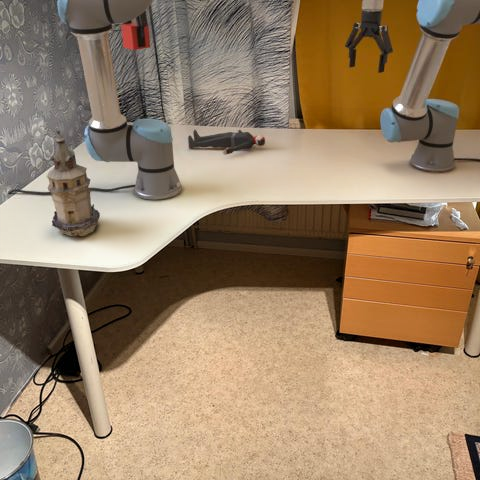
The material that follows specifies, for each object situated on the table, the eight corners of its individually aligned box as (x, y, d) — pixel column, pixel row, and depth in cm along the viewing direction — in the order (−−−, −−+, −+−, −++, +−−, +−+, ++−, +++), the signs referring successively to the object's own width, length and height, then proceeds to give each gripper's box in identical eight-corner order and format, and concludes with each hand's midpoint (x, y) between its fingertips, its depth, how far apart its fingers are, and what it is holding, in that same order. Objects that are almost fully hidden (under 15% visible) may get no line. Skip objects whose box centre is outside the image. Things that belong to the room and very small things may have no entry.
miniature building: (80, 214, 164) (63, 117, 149) (111, 225, 157) (96, 125, 142) (44, 231, 154) (22, 130, 140) (75, 244, 147) (55, 139, 133)
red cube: (133, 50, 193) (131, 26, 189) (123, 47, 198) (121, 24, 194) (150, 47, 197) (148, 24, 193) (140, 45, 202) (138, 22, 198)
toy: (199, 123, 225) (269, 123, 219) (200, 137, 228) (270, 138, 222) (181, 143, 203) (259, 144, 197) (183, 159, 206) (259, 160, 200)
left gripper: (154, -24, 181) (160, 47, 193) (123, -26, 194) (131, 40, 206) (135, -23, 177) (142, 50, 188) (105, -25, 190) (113, 43, 201)
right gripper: (407, 11, 191) (399, 72, 201) (351, 6, 207) (346, 63, 217) (395, 13, 186) (388, 76, 197) (338, 8, 203) (334, 66, 213)
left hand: (136, 45), depth 197 cm, fingers closed on red cube, 7 cm apart
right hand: (366, 69), depth 207 cm, fingers open, 13 cm apart
